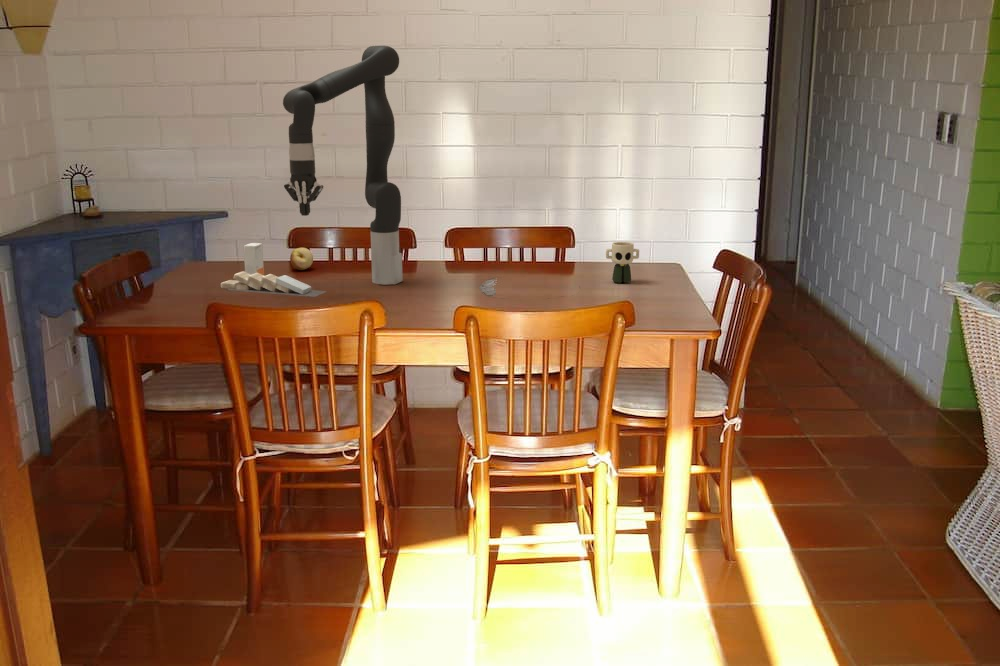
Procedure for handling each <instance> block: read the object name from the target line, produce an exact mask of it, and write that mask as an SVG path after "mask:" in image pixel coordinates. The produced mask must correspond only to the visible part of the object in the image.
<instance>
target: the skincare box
mask: <svg viewBox="0 0 1000 666" xmlns="http://www.w3.org/2000/svg"><path fill="white" fill-rule="evenodd" d="M242 249H243V261H244V272H246V273H248V274H250V275H252V274H255V273H259V274H261V275H264V276H265V267H264V251H263V243H262V242H261V243H259V242H250V243H247V244H245V245H243V248H242Z"/></svg>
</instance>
